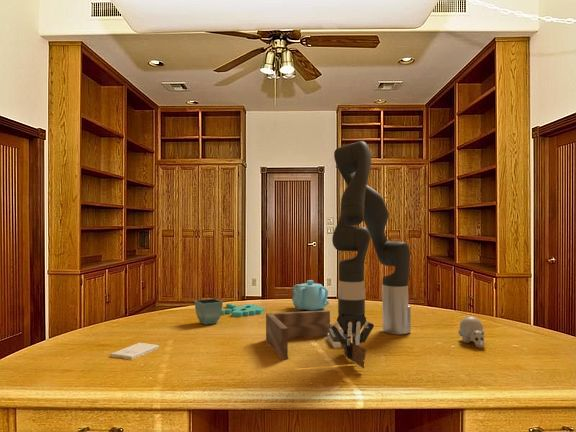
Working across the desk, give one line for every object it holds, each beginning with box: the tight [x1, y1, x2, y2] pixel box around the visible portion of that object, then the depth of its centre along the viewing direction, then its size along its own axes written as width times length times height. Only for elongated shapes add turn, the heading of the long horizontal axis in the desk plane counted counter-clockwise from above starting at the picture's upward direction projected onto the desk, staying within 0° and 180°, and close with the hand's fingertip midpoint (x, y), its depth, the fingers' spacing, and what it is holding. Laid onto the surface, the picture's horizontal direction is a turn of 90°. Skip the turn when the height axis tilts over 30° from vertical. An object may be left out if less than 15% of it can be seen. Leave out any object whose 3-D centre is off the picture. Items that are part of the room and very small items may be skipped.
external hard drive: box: [109, 342, 160, 360], centre depth 132 cm, size 2×8×12 cm
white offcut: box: [327, 333, 353, 349], centre depth 140 cm, size 6×12×2 cm, turn 4°
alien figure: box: [221, 303, 265, 318], centre depth 193 cm, size 20×2×20 cm
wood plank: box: [341, 336, 367, 369], centre depth 121 cm, size 15×2×5 cm, turn 18°
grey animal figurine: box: [457, 315, 485, 349], centre depth 140 cm, size 7×12×8 cm, turn 178°
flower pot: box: [194, 298, 224, 326], centre depth 170 cm, size 9×9×9 cm
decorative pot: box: [291, 279, 330, 311], centre depth 199 cm, size 16×16×14 cm
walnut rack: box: [265, 309, 331, 360], centre depth 138 cm, size 22×22×9 cm
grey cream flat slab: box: [323, 336, 344, 350], centre depth 140 cm, size 7×14×2 cm, turn 10°
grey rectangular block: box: [329, 328, 344, 342], centre depth 141 cm, size 5×10×2 cm, turn 1°
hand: (351, 357), depth 120 cm, fingers closed on wood plank, 1 cm apart
